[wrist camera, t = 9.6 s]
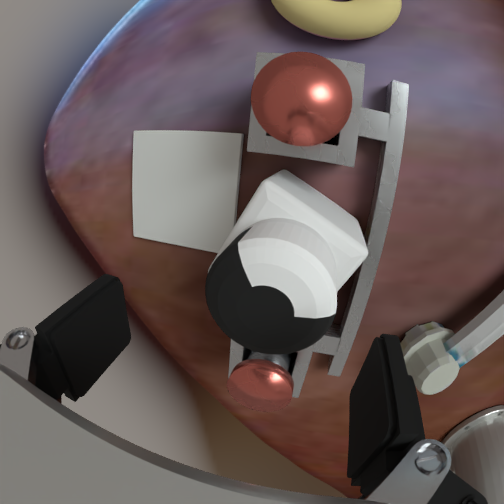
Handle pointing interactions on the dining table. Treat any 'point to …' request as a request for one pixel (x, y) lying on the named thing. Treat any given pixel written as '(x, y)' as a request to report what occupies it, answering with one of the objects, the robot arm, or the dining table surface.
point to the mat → (186, 186)
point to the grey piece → (449, 347)
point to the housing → (391, 136)
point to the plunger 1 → (262, 382)
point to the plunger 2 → (301, 99)
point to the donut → (340, 17)
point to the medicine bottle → (283, 267)
